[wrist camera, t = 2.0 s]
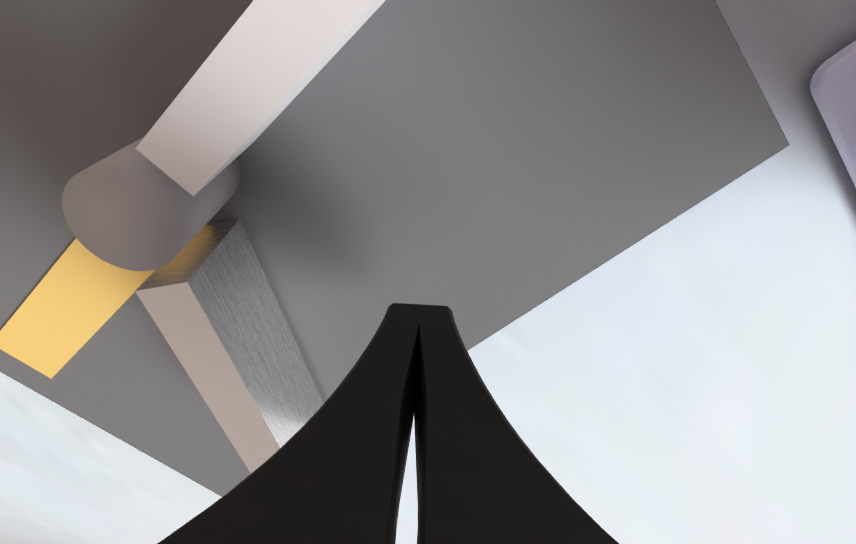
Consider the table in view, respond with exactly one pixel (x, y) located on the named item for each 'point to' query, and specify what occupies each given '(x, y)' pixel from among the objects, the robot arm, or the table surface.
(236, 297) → the hinge leaf
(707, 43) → the mat
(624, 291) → the table surface
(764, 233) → the table surface
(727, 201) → the table surface
